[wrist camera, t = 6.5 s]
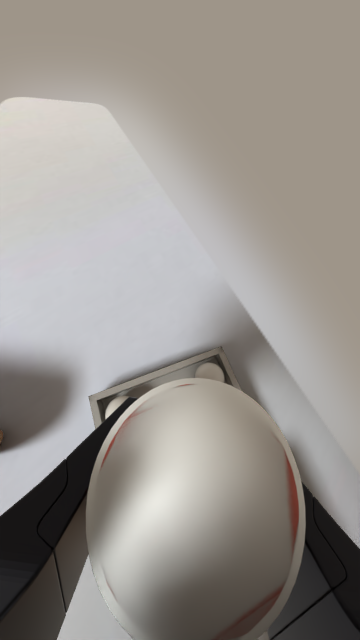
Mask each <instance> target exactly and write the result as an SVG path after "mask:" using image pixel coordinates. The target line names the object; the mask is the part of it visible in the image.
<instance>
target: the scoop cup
mask: <svg viewBox="0 0 360 640" xmlns="http://www.w3.org/2000/svg"><path fill="white" fill-rule="evenodd" d="M305 528H306V518H305V501H304V494H303V487H302V483H301V479H300V474H299V471H298V468H297V465H296V462H295V459H294V456H293V454H292V451H291V449H290V447H289V445H288V442H287V441H286V439H285V437H284V435H283V434H282V432H281V430H280V429H279V427H278V426H277V424H276V423H275V422H274V420H273V419H272V418H271V416H270V415H269V414H268V413H267V412H266V411H265V410H264V409H263V407H261V406H260V405H259V404H258V403H257V402H256V401H255V400H254V399H252V398H251V397H249V396H248V395H247V394H245V393H244V392H242V391H240V390H239V389H237V388H235V387H233V386H231V385H228V384H225V383H223V382H220V381H216V380H211V379H204V378H185V379H180V380H174V381H171V382H168V383H165V384H162V385H160V386H158V387H156V388H154V389H152V390H150V391H149V392H147V393H146V394H144V395H143V396H141V397H140V398H139V399H137V400H136V401H135V402H134V403H133V404H132V405H130V406H129V408H128V409H127V410H126V411H125V412H124V413H123V414H122V415H121V416H120V417H119V419H118V420H117V422H116V423H115V424H114V426H113V427H112V428H111V430H110V432H109V434H108V435H107V437H106V439H105V441H104V442H103V445H102V447H101V449H100V451H99V454H98V456H97V459H96V462H95V465H94V468H93V471H92V474H91V479H90V484H89V489H88V494H87V504H86V537H87V546H88V553H89V557H90V562H91V566H92V570H93V574H94V576H95V579H96V582H97V585H98V587H99V590H100V593H101V594H102V596H103V598H104V600H105V602H106V604H107V606H108V608H109V610H110V611H111V613H112V614H113V615H114V617H115V618H116V620H117V621H118V622H119V624H120V625H121V626H122V628H123V629H124V630H125V631H126V632H127V633H128V634H129V635H130V636H131V637H132V638H133V639H134V640H257V639H258V638H259V637H260V636H261V635H263V634H264V633H265V632H266V631H267V629H268V628H269V627H270V626H271V624H272V623H273V622H274V621H275V619H276V618H277V617H278V615H279V614H280V612H281V610H282V609H283V607H284V605H285V603H286V602H287V600H288V598H289V596H290V593H291V591H292V589H293V586H294V584H295V582H296V578H297V575H298V571H299V568H300V565H301V560H302V554H303V549H304V542H305Z"/></svg>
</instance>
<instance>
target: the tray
mask: <svg viewBox="0 0 360 640" xmlns="http://www.w3.org/2000/svg"><path fill="white" fill-rule="evenodd" d="M204 363H214V364H216V365H218V366H219V367H220V368H221V369H222V371H223V373H224V383H225V384H228V385H231V386H233V387H235V388H237V389H239V390H240V391H242V390H241V388H240V386H239V384H238V382H237V379H236V377H235V375H234V373H233V371H232V368H231V366H230V364H229V362H228V360H227V357H226V355H225V353H224V351H223V349H222V346H221V347H218V348H216V349H213V350H210V351H208V352H205V353H202V354H200V355H197V356H194V357H192V358H189V359H186V360H184V361H181V362H178V363H176V364H173V365H171V366H168V367H165V368H163V369H160V370H157V371H155V372H152V373H149V374H147V375H144V376H141V377H139V378H136V379H133V380H131V381H128V382H125V383H123V384H120V385H117V386H115V387H112V388H109V389H107V390H104V391H101V392H99V393H96V394H94V395H91V396H89V401H90V406H91V410H92V415H93V420H94V425H95V429H96V428H97V427H98V426H99V425H100V424H101V423H102V422H104V421H105V420H106V419H105V412H106V409H107V407H108V405H109V403H110V402H111V401H112V400H113V399H115V398H117V397H119V396H129V397H136V398H138V399H139V398H140V397H141V396H143V395H144V394H146V393H147V392H149V391H150V390H152V389H154V388H156V387H158V386H160V385H162V384H165V383H168V382H171V381H174V380H180V379H185V378H195V373H196V370H197V369H198V367H199V366H200V365H202V364H204Z"/></svg>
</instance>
